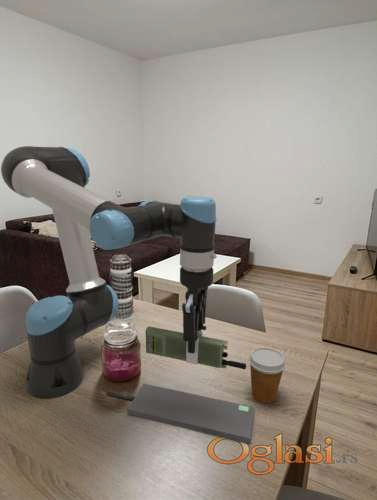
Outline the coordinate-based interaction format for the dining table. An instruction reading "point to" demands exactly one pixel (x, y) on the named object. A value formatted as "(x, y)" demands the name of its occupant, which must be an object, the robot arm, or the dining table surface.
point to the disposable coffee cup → (266, 373)
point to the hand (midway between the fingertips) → (194, 358)
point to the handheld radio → (175, 347)
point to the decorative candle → (122, 285)
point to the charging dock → (192, 412)
